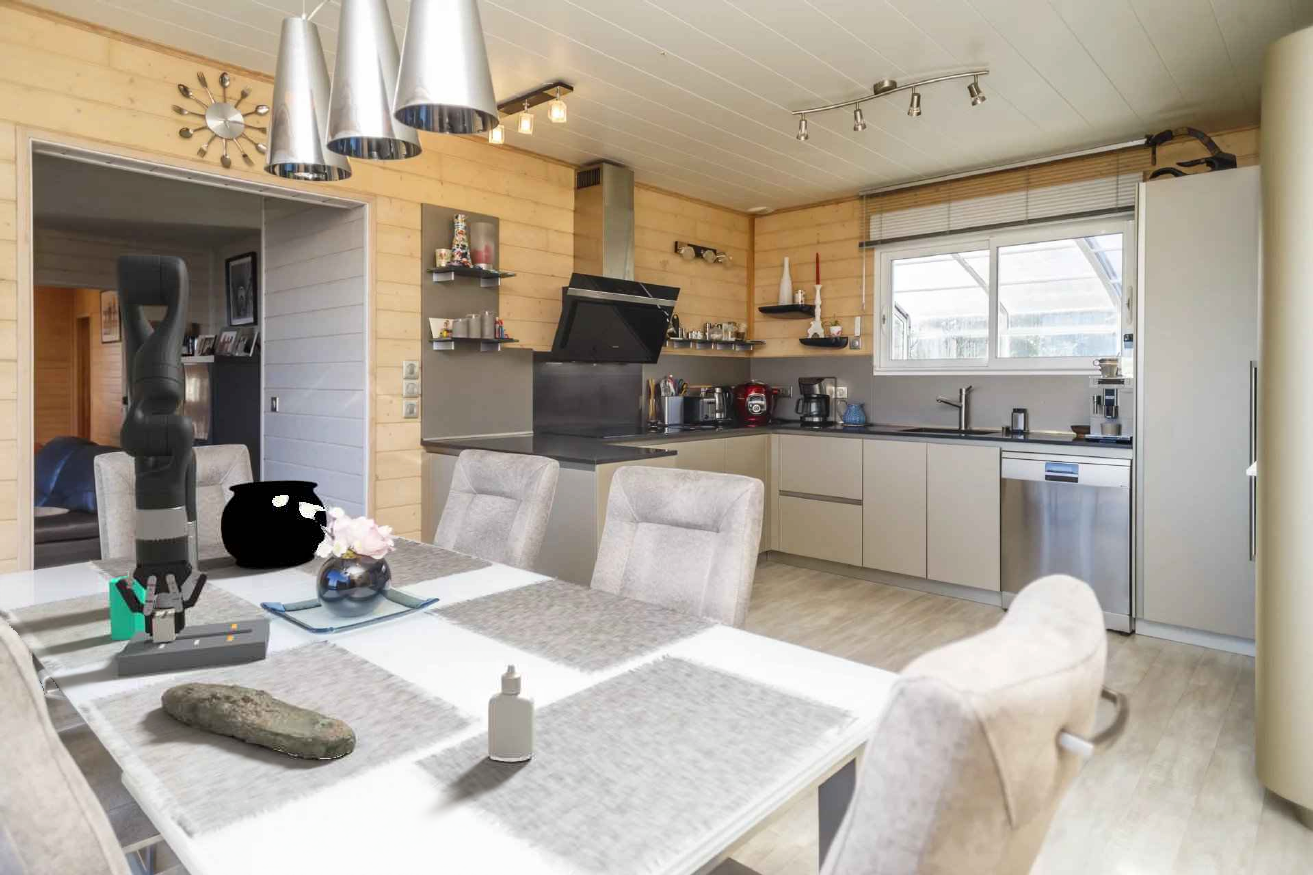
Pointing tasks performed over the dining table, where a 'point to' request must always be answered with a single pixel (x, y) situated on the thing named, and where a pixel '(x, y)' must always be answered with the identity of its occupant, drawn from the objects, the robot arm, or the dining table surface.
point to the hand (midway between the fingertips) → (165, 633)
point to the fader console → (196, 647)
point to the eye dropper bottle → (511, 719)
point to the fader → (164, 627)
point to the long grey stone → (258, 719)
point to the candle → (125, 612)
